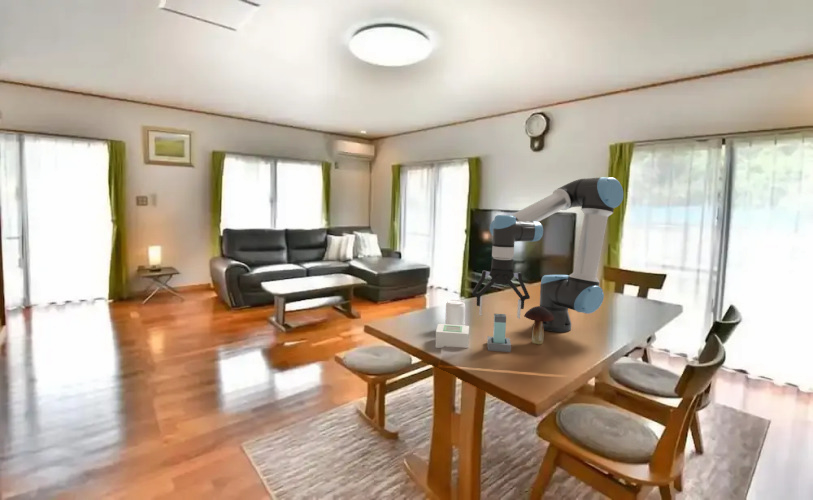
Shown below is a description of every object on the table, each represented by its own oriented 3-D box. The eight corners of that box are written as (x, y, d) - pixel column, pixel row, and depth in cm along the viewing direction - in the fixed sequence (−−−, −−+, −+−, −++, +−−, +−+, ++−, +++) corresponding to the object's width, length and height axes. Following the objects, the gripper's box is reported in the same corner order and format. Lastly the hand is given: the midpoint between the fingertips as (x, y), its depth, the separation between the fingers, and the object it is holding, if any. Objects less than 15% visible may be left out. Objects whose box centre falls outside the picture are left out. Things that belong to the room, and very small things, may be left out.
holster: (508, 346, 150) (509, 337, 150) (510, 354, 142) (511, 345, 142) (487, 344, 151) (487, 336, 151) (487, 352, 144) (488, 343, 143)
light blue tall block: (503, 345, 148) (505, 314, 147) (504, 349, 144) (506, 317, 143) (492, 344, 149) (494, 313, 148) (493, 348, 145) (494, 316, 144)
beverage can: (463, 333, 164) (464, 304, 163) (444, 331, 166) (444, 303, 165) (464, 327, 172) (465, 300, 171) (446, 326, 174) (446, 299, 173)
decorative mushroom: (519, 339, 158) (521, 302, 156) (547, 340, 157) (549, 303, 156) (526, 349, 147) (529, 309, 145) (557, 350, 147) (559, 310, 145)
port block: (468, 340, 155) (469, 325, 155) (468, 349, 146) (468, 333, 145) (437, 338, 157) (438, 323, 157) (435, 347, 148) (435, 331, 147)
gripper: (537, 258, 145) (533, 315, 147) (467, 255, 149) (464, 311, 151) (540, 261, 137) (536, 321, 140) (467, 257, 141) (464, 316, 144)
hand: (499, 316), depth 145 cm, fingers open, 13 cm apart
